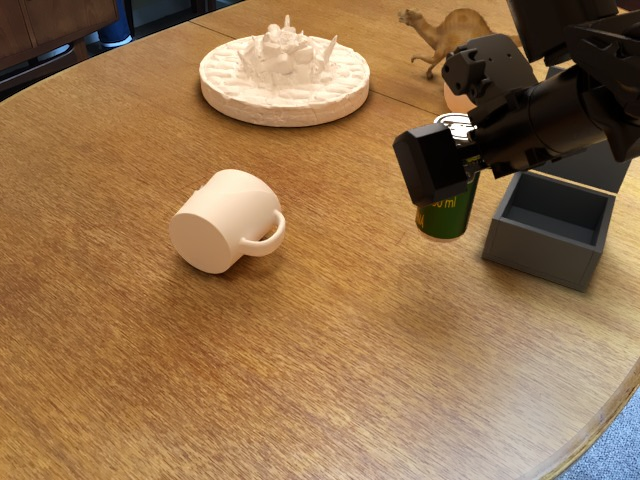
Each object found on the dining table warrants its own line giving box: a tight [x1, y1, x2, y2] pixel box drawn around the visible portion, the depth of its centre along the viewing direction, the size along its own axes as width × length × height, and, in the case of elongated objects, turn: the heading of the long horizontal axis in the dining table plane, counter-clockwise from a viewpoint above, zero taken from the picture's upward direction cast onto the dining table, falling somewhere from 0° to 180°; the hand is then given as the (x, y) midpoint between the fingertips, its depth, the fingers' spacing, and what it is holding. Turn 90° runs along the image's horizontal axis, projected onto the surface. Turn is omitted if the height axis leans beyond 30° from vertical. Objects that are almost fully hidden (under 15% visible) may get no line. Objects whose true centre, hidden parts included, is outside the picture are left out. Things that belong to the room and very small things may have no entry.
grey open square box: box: [480, 170, 617, 293], centre depth 69 cm, size 12×12×6 cm
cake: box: [198, 14, 371, 128], centre depth 97 cm, size 28×28×10 cm
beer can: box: [414, 112, 482, 244], centre depth 58 cm, size 5×5×12 cm
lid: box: [531, 65, 633, 195], centre depth 68 cm, size 12×12×1 cm
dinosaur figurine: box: [397, 6, 523, 79], centre depth 98 cm, size 8×26×13 cm, turn 74°
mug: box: [168, 168, 287, 275], centre depth 66 cm, size 12×9×8 cm
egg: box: [443, 81, 477, 114], centre depth 91 cm, size 7×7×12 cm
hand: (442, 168), depth 59 cm, fingers closed on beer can, 5 cm apart
